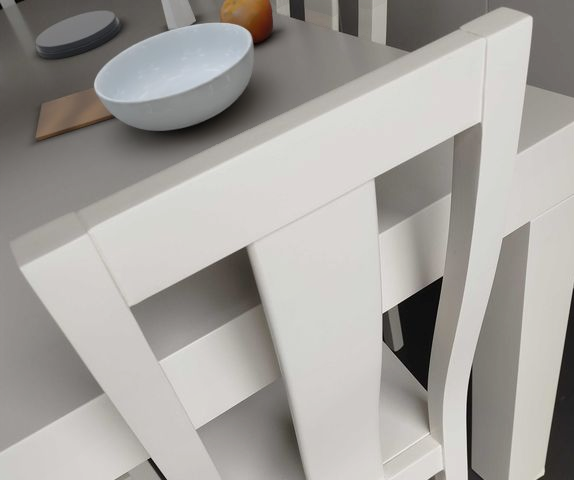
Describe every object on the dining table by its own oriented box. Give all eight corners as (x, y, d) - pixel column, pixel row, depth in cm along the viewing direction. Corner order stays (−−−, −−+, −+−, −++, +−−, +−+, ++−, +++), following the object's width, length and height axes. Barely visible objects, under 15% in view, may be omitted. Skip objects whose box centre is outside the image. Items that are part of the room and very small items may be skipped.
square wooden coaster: (36, 141, 83) (35, 138, 83) (43, 106, 91) (41, 103, 91) (118, 116, 83) (116, 112, 83) (117, 83, 91) (116, 80, 91)
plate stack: (35, 67, 104) (29, 56, 103) (42, 37, 115) (37, 26, 114) (121, 40, 104) (117, 28, 103) (120, 13, 115) (116, 2, 114)
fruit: (294, 15, 91) (265, -24, 84) (270, 61, 91) (240, 26, 84) (258, 11, 95) (228, -27, 89) (235, 55, 96) (204, 21, 89)
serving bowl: (91, 124, 83) (68, 75, 78) (213, 61, 89) (198, 12, 84) (159, 171, 70) (137, 116, 65) (296, 93, 76) (285, 38, 71)
